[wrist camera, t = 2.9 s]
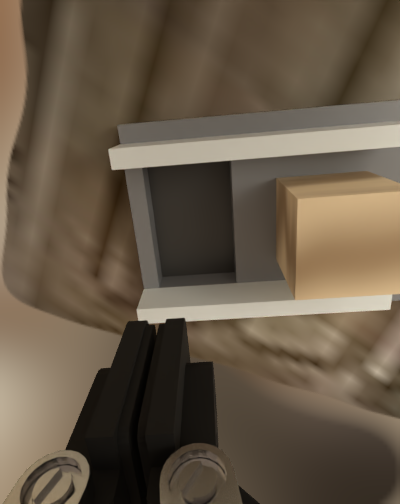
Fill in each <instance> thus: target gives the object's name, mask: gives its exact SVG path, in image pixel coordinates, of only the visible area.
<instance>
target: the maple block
mask: <svg viewBox="0 0 400 504" xmlns="http://www.w3.org/2000/svg"><path fill="white" fill-rule="evenodd" d="M276 260H277V262H278V264H279V266H280V268H281V271H282V273H283V275H284V277H285V279H286V281H287V284H288V286H289V288H290V290H291V292H292V295H293V297H294V299H295V300H308V299H325V298H341V297H358V296H375V295H391V294H400V183H398V182H395V181H392V180H390V179H387V178H385V177H382V176H379V175H377V174H374V173H371V172H369V171H358V172H345V173H333V174H320V175H307V176H294V177H282V178H276Z"/></svg>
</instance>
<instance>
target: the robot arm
mask: <svg viewBox="0 0 400 504" xmlns="http://www.w3.org/2000/svg"><path fill="white" fill-rule="evenodd" d="M216 410H217V409H216V394H215V380H214V368H213V362H199V363H190V355H189V346H188V337H187V328H186V320H185V318H173V319H166V322H165V324H160V325H159V328H158V332H157V335H156V329H155V325H149V323H148V321H147V320H143V321H129V322H128V323H127V325H126V328H125V330H124V333H123V336H122V338H121V342H120V344H119V347H118V349H117V352H116V355H115V357H114V360H113V363H112V366H111V368H103V369H100V370H99V371H98V373H97V375H96V377H95V379H94V382H93V384H92V387H91V389H90V392H89V394H88V397H87V399H86V401H85V404H84V406H83V408H82V411H81V413H80V416H79V418H78V421H77V423H76V425H75V428H74V430H73V433H72V435H71V437H70V440H69V442H68V445H67V447H66V450H63V451H57V452H54V453H51V454H48V455H46V456H44V457H43V458H41V459H39V460H38V461H36V462H35V463H34V464H33V465H31V466H30V467H29V468H28V469H27V470H26V471H25V472H24V474H23V475H22V476H21V477H20V478H19V480H18V481H17V483H16V484H15V486H14V487H13V489H12V490H11V492H10V493H9V495H8V496H7V498H6V499H5V501H4V502H3V504H259V503H258V502H257V501H256V500H255V499H254V498H252V497H251V496H250V495H249V494H248V493H246V492H245V491H244V490H243V489H242V488H241V487H240V486H239V485H238V483H237V479H236V475H235V471H234V468H233V466H232V463H231V461H230V459H229V458H228V456H227V455H226V454H225V453H224V452H223V451H222V450H220V449H219V448H218V429H217V411H216Z"/></svg>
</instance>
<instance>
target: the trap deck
mask: <svg viewBox="0 0 400 504" xmlns="http://www.w3.org/2000/svg"><path fill="white" fill-rule="evenodd" d="M117 127H118V133H119V139H120V145H118V146H115V147H112V148H110V149H108V151H109V157H110V163H111V168H112V170H120V169H124V170H125V176H126V182H127V188H128V194H129V200H130V206H131V213H132V219H133V225H134V231H135V237H136V243H137V249H138V255H139V262H140V268H141V274H142V280H143V286H144V290H143V293H142V296H141V299H140V301H139V304H138V307H137V315H138V321H143V320H147V321H148V323H149V324H150V323H165V322H166V319H173V318H185V320H186V321H202V320H219V319H236V318H254V317H271V316H288V315H306V314H323V313H340V312H357V311H375V310H390V308H391V301H398V300H400V294H391V295H375V296H358V297H341V298H325V299H308V300H295V299H294V297H293V295H292V292H291V290H290V288H289V286H288V284H287V281H286V279H285V277H284V275H283V273H282V271H281V268H280V266H279V264H278V262H277V260H276V178H282V177H294V176H307V175H320V174H333V173H345V172H358V171H369V172H371V173H374V174H377V175H379V176H382V177H385V178H387V179H390V180H392V181H395V182H398V183H400V100H389V101H378V102H366V103H355V104H344V105H332V106H321V107H310V108H298V109H287V110H276V111H264V112H253V113H242V114H230V115H219V116H208V117H196V118H185V119H174V120H162V121H151V122H140V123H128V124H121V125H117Z"/></svg>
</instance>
